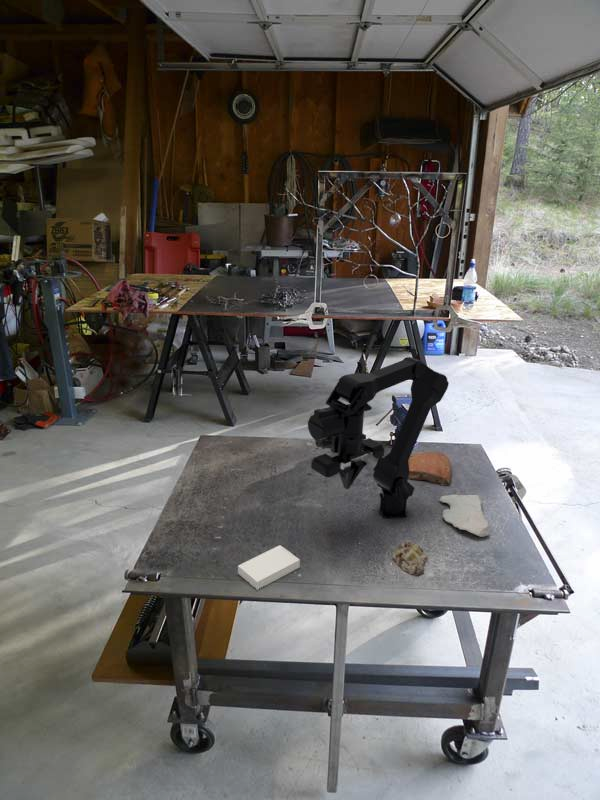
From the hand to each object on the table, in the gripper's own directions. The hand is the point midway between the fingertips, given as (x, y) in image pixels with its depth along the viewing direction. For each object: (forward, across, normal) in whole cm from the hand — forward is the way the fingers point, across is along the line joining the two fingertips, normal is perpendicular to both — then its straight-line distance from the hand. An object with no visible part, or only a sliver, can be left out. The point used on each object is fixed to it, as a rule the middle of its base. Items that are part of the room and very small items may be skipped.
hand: (346, 488), depth 145 cm
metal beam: (+13, +24, -20) cm, 34 cm away
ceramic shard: (+13, -40, -8) cm, 43 cm away
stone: (+13, -29, +15) cm, 35 cm away
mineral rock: (+12, -4, +18) cm, 23 cm away
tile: (+11, +18, +1) cm, 21 cm away
